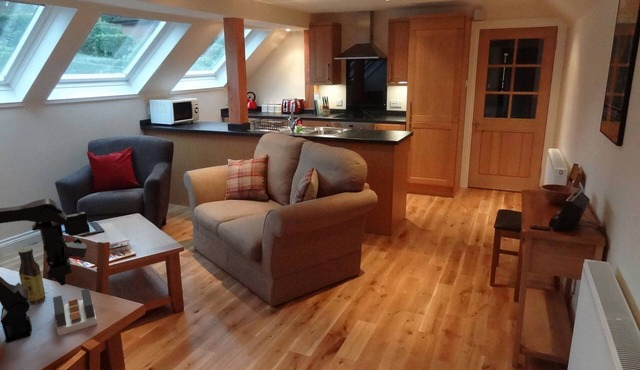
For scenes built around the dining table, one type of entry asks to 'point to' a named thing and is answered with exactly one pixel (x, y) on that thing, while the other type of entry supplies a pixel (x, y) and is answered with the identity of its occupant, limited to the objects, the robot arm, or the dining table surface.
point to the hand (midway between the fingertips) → (63, 284)
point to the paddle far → (73, 302)
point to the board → (76, 320)
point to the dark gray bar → (88, 303)
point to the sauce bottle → (31, 276)
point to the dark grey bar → (59, 311)
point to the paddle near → (75, 315)
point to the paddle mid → (74, 308)
